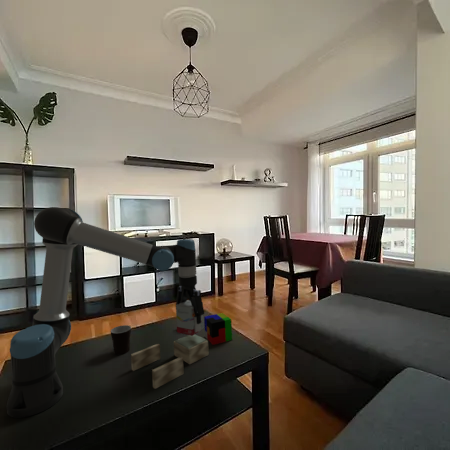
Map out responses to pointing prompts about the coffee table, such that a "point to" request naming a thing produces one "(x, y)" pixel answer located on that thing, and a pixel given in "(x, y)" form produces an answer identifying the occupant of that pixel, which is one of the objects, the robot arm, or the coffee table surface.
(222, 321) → the puzzle toy
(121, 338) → the coffee mug
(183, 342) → the wooden blocks
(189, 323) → the ink box
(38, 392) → the robot arm
